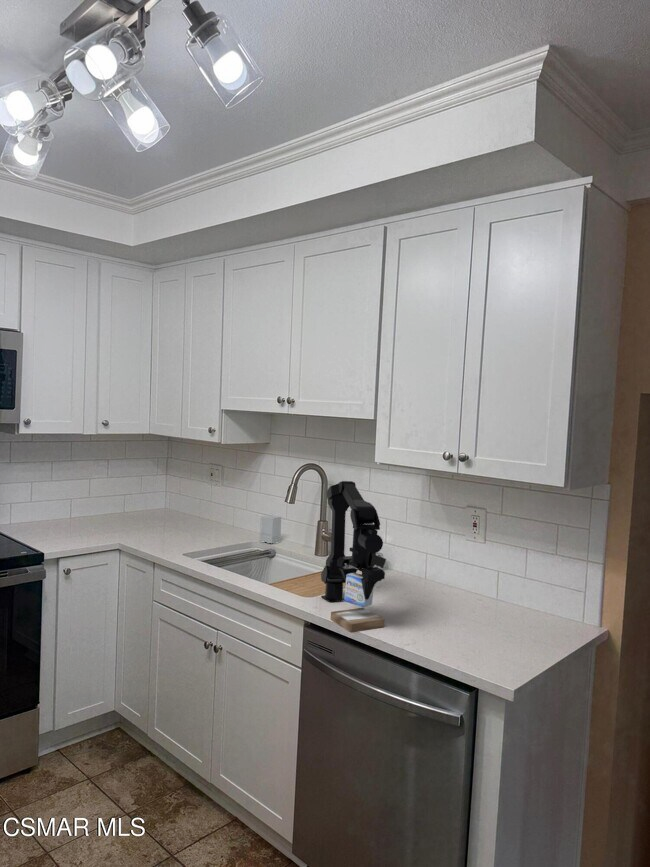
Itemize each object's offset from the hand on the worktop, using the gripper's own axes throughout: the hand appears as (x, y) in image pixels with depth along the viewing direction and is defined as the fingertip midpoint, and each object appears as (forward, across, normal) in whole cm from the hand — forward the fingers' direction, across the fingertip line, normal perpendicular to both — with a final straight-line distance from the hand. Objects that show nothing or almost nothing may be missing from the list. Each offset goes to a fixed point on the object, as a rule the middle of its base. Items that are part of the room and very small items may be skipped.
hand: (358, 595), depth 197 cm
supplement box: (+10, +113, -24) cm, 116 cm away
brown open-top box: (+9, 0, 0) cm, 9 cm away
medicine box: (+3, 0, 0) cm, 3 cm away
